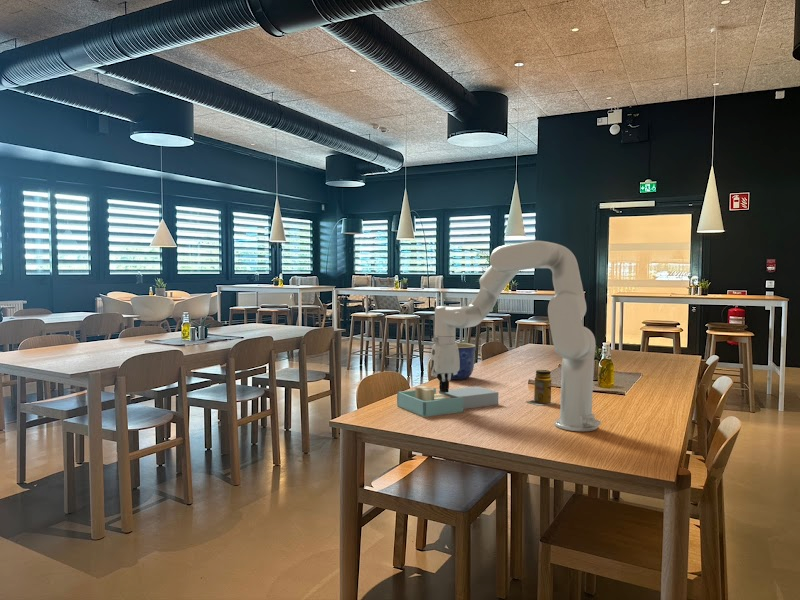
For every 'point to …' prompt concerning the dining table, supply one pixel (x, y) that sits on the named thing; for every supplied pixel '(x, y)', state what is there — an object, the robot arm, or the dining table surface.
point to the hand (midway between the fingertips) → (444, 391)
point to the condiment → (542, 388)
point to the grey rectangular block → (474, 396)
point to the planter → (465, 360)
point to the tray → (428, 404)
